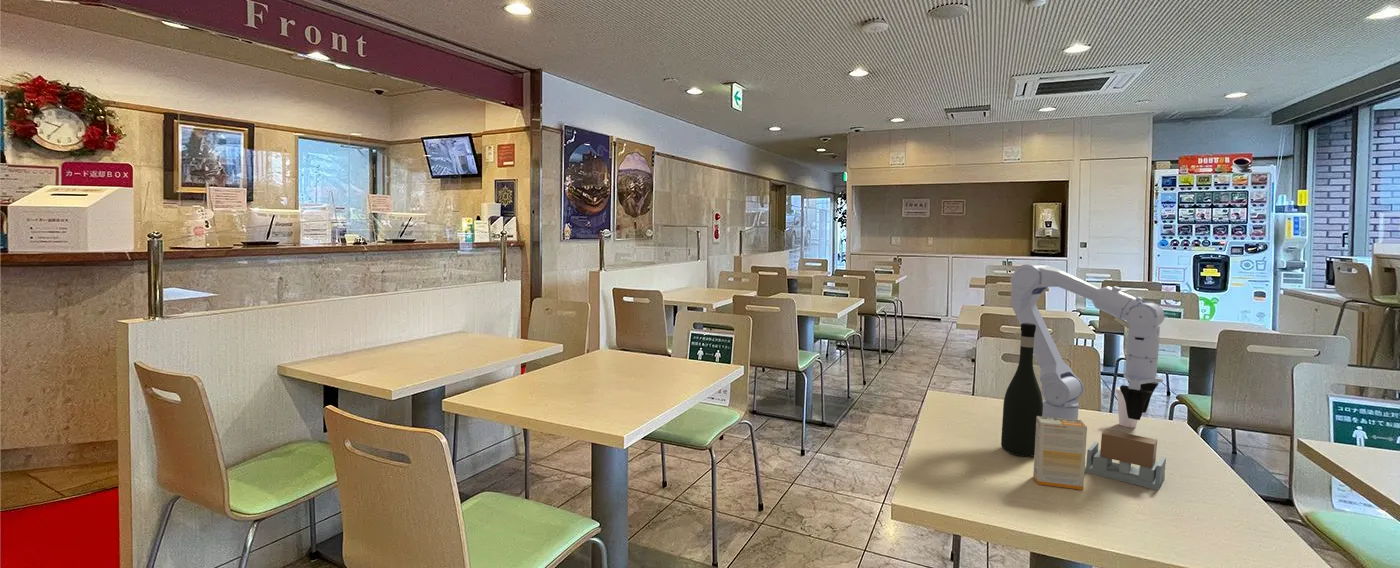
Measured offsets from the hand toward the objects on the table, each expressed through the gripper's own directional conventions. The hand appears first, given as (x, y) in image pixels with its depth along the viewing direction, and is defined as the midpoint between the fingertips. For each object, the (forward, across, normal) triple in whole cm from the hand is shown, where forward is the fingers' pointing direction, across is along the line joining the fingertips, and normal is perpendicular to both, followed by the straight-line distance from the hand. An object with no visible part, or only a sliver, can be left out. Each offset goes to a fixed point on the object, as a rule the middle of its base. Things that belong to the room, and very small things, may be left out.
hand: (1137, 415), depth 137 cm
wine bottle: (+10, -15, +20) cm, 27 cm away
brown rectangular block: (+6, -14, -1) cm, 15 cm away
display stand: (+10, -14, 0) cm, 17 cm away
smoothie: (+10, +28, +6) cm, 30 cm away
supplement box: (+10, -29, +8) cm, 32 cm away
